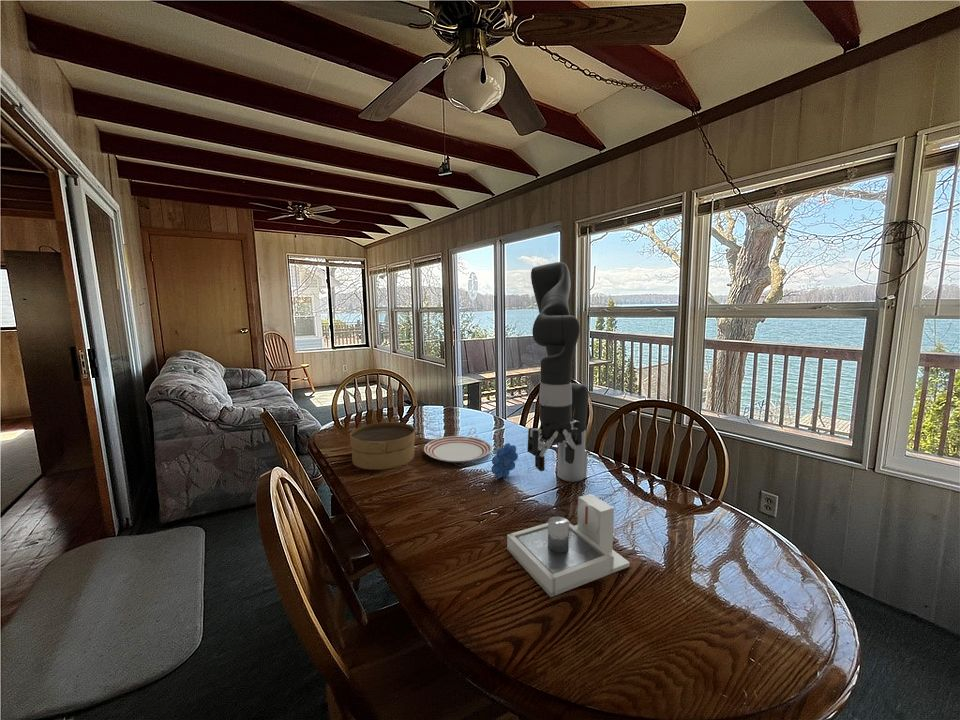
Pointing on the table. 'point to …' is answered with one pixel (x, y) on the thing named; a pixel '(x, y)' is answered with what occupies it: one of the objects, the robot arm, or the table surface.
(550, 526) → the cylinder
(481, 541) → the table surface
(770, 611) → the table surface
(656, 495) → the table surface
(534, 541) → the scale pan
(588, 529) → the scale
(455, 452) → the dinner plate
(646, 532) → the table surface
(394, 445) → the steamer basket
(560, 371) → the robot arm
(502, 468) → the grapes
